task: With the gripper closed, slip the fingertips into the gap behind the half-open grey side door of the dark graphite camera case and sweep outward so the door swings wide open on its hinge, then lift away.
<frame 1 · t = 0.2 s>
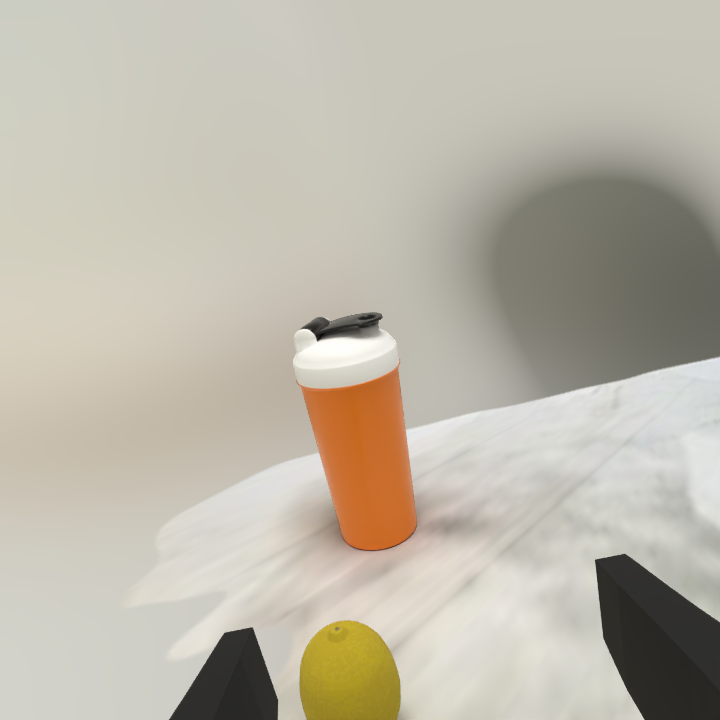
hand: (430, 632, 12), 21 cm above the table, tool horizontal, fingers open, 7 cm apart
shaker bottle: (379, 529, 53), on the table
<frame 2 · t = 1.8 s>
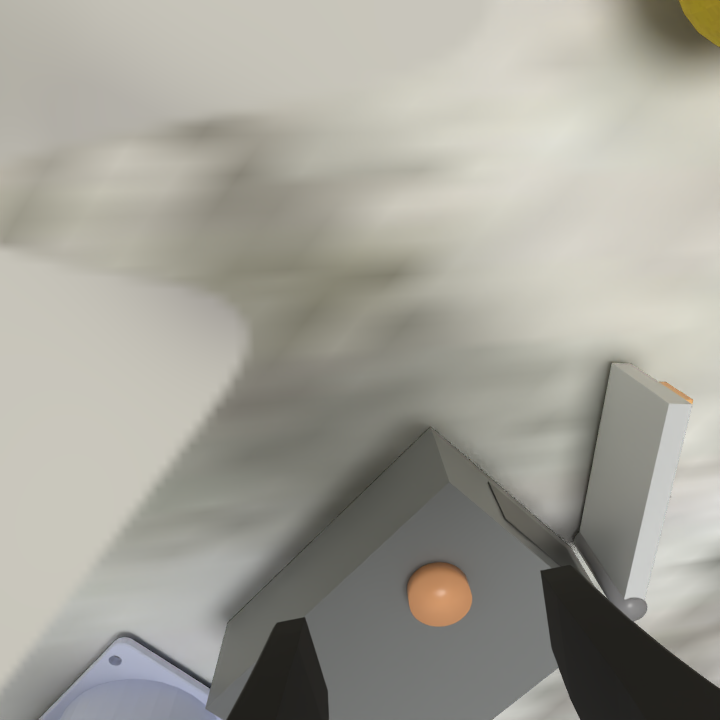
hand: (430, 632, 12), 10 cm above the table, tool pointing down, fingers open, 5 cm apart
case: (396, 586, 23), on the table
door: (631, 488, 20), point 2 cm above the table, hinge at 50.0°
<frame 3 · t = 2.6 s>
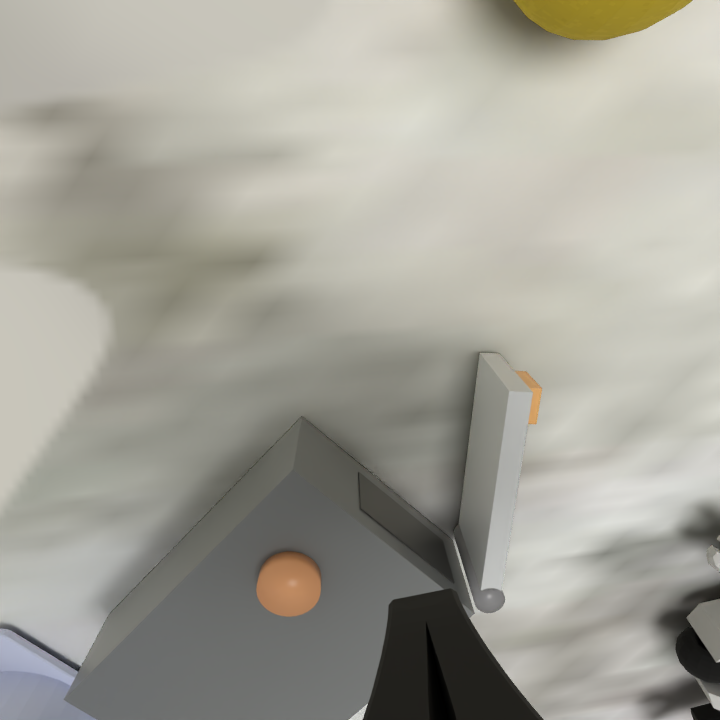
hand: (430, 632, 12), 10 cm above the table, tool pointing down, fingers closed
case: (278, 578, 23), on the table
door: (495, 479, 20), point 2 cm above the table, hinge at 50.0°
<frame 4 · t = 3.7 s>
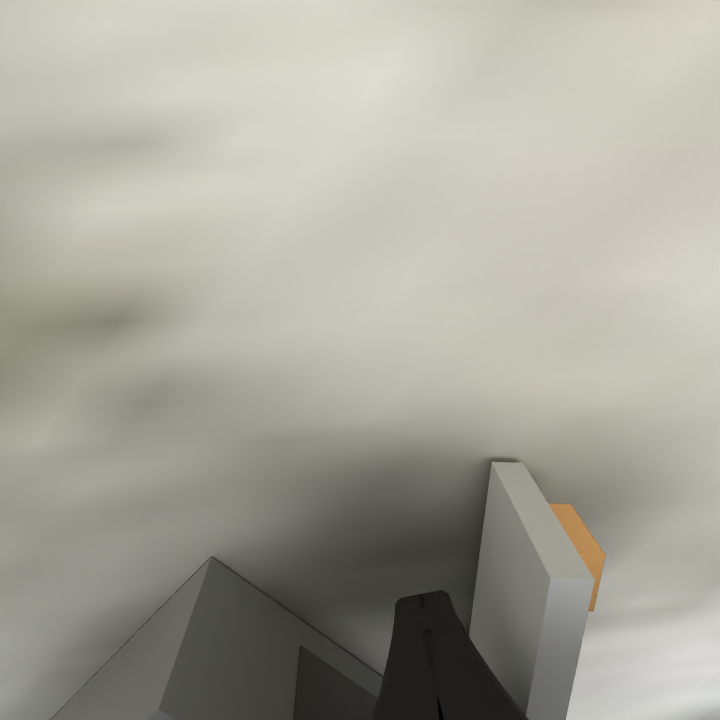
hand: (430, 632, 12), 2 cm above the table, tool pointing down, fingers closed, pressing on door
door: (518, 674, 12), point 2 cm above the table, hinge at 50.0°, touching gripper
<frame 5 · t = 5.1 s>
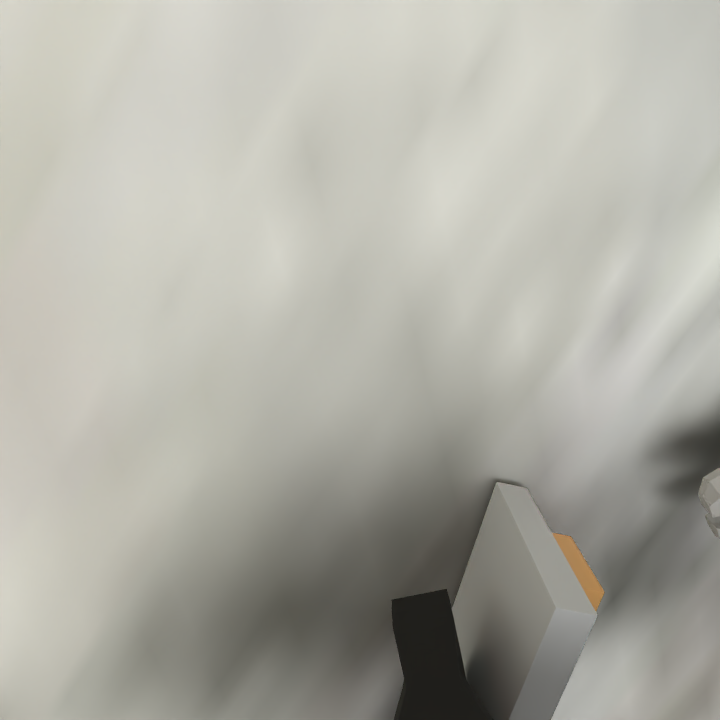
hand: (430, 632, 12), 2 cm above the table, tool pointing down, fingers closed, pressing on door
door: (487, 695, 12), point 2 cm above the table, hinge at 113.4°, touching gripper
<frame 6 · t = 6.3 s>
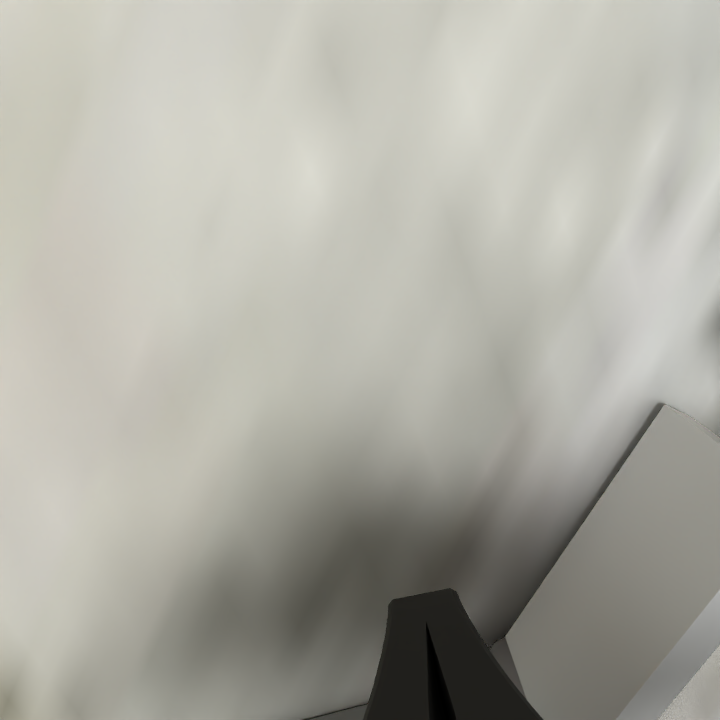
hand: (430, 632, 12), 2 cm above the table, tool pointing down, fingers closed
door: (626, 609, 12), point 2 cm above the table, hinge at 132.9°
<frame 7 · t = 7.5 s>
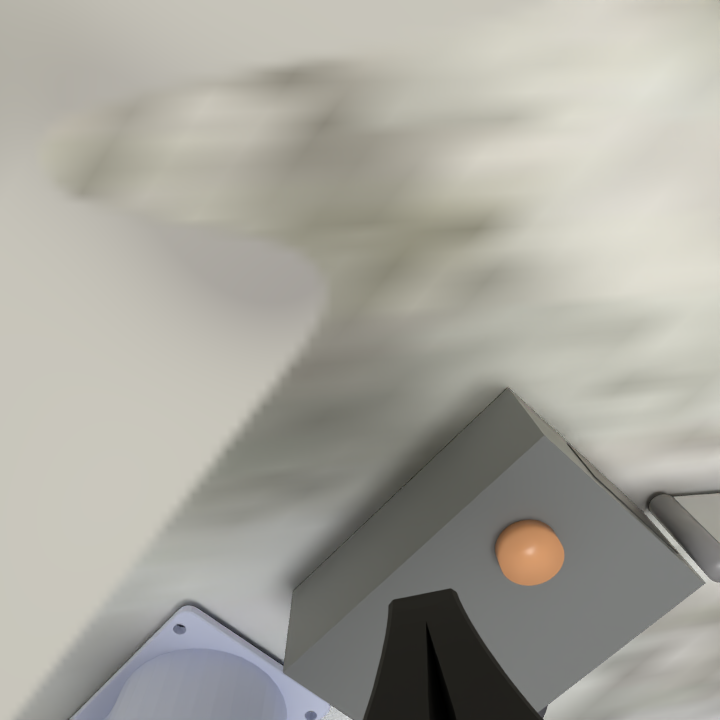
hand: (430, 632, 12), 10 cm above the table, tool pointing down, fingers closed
case: (466, 553, 23), on the table
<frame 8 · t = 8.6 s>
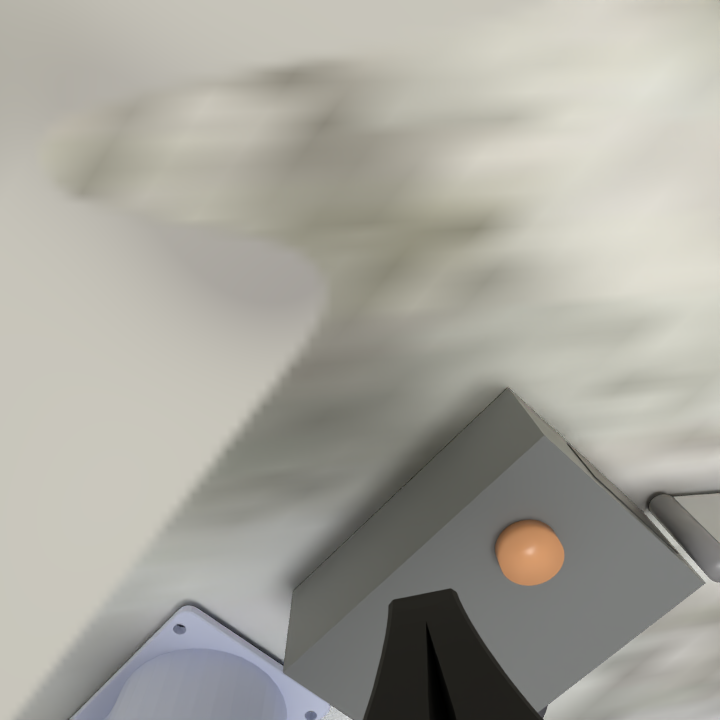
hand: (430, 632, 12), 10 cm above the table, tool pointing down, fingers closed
case: (466, 553, 23), on the table
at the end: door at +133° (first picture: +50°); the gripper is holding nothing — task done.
